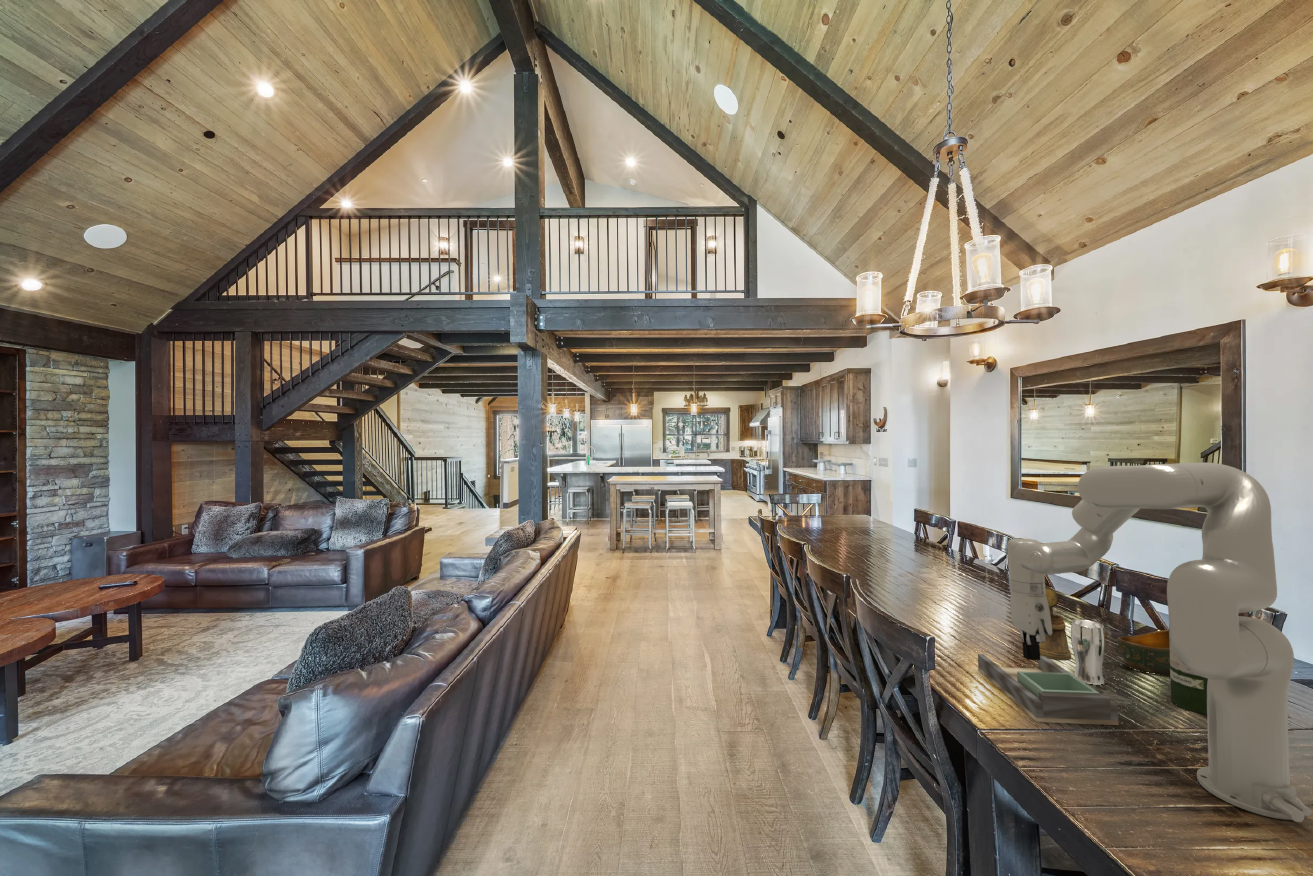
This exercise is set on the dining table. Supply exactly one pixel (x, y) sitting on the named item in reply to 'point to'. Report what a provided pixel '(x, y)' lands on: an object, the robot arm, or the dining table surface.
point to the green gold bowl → (1147, 652)
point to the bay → (1050, 696)
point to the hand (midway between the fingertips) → (1031, 658)
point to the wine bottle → (1187, 686)
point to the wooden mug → (1055, 632)
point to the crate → (1053, 683)
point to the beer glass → (1088, 650)
